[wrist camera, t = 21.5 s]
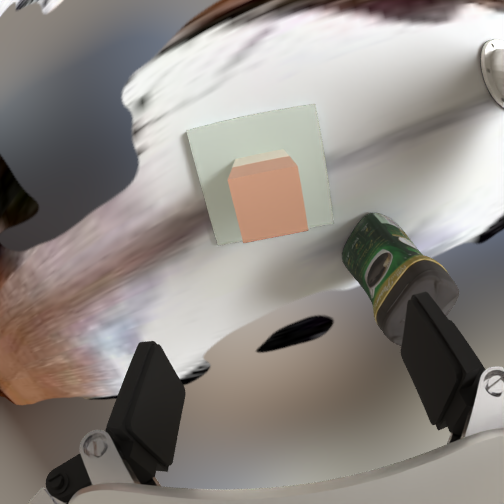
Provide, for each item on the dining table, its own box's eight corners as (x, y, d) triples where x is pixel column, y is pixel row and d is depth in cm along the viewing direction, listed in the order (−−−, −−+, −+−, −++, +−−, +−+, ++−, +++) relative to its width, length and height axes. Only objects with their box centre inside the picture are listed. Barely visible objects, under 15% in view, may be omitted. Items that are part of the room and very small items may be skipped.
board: (313, 104, 33) (315, 104, 32) (331, 220, 40) (333, 223, 39) (188, 130, 35) (186, 130, 34) (218, 242, 42) (217, 245, 41)
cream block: (283, 148, 35) (289, 155, 29) (292, 194, 37) (299, 209, 32) (235, 158, 35) (232, 167, 30) (246, 203, 38) (245, 220, 33)
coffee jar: (373, 277, 44) (421, 361, 28) (332, 259, 43) (373, 347, 26) (406, 226, 40) (476, 294, 24) (366, 202, 39) (433, 268, 22)
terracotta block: (289, 156, 29) (297, 165, 24) (299, 209, 32) (308, 230, 27) (232, 167, 30) (227, 179, 25) (245, 220, 33) (243, 243, 27)
